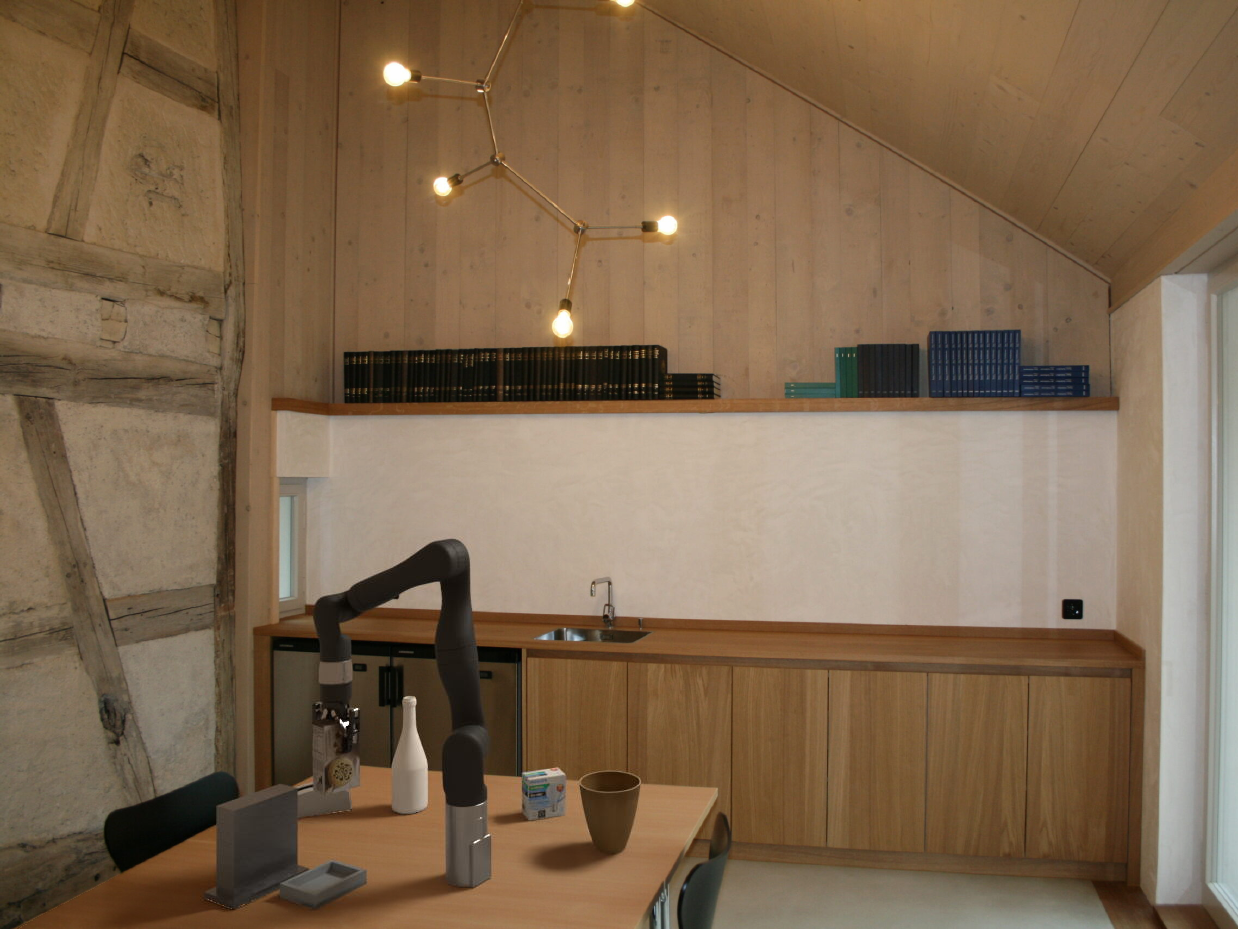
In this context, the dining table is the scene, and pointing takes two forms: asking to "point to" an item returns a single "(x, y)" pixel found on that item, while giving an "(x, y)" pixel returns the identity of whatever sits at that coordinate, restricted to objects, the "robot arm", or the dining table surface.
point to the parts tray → (323, 884)
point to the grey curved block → (321, 801)
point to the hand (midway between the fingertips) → (336, 749)
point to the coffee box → (333, 759)
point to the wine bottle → (409, 766)
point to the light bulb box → (543, 793)
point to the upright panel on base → (256, 845)
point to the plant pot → (610, 807)
